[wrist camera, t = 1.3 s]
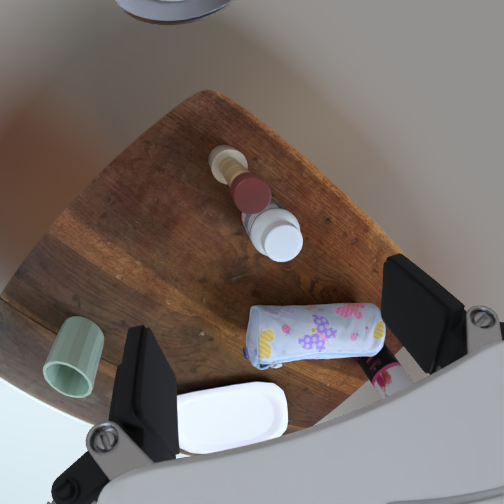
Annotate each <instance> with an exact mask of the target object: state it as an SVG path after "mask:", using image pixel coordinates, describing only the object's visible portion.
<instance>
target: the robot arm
mask: <svg viewBox="0 0 504 504" xmlns="http://www.w3.org/2000/svg"><path fill="white" fill-rule="evenodd" d="M159 1H169V2H171V1H183V0H159ZM464 307H465V306H464V305H463V304H462V303H461V302H460V301H459V300H458V299H457V298H455V297H454V296H453V295H452V294H450V293H449V292H448V291H447V290H446V289H445V288H444V287H442V286H441V285H440V284H439V283H437V282H436V281H435V280H434V279H432V277H430V276H429V275H428V274H427V273H425V272H424V271H423V270H422V269H420V268H419V267H418V266H416V265H415V264H414V263H413V262H411V261H410V260H409V259H408V258H406V257H405V256H404V255H402V254H401V253H399V254H396V255H393V256H390V257H388V258H387V260H386V262H384V267H383V288H382V303H381V318H382V320H383V322H384V323H385V324H386V325H387V326H388V328H389V329H390V330H391V331H392V332H393V334H394V335H395V336H396V337H397V339H398V340H399V341H400V342H401V343H402V345H403V346H404V347H405V348H406V350H407V351H408V352H409V353H410V354H411V356H412V357H413V358H414V359H415V361H416V362H417V363H418V364H419V366H420V367H421V368H422V370H423V371H424V372H425V373H429V374H430V376H428V377H426V378H424V379H422V380H420V381H418V382H416V383H414V384H413V385H411V386H409V387H407V388H405V389H403V390H400V391H398V392H396V393H394V394H392V395H390V396H388V397H386V398H383V399H381V400H379V401H377V402H374V403H372V404H370V405H368V406H365V407H363V408H361V409H358V410H356V411H353V412H351V413H348V414H346V415H343V416H340V417H338V418H335V419H332V420H330V421H327V422H324V423H321V424H318V425H315V426H312V427H309V428H306V429H303V430H300V431H297V432H294V433H290V434H287V435H284V436H280V437H277V438H273V439H269V440H265V441H262V442H258V443H254V444H250V445H245V446H241V447H236V448H232V449H227V450H222V451H217V452H212V453H207V454H202V455H196V456H190V457H184V458H179V459H176V454H179V434H178V412H177V381H176V377H175V374H174V372H173V370H172V369H171V367H170V365H169V363H168V361H167V360H166V358H165V356H164V354H163V352H162V350H161V348H160V346H159V345H158V343H157V341H156V339H155V337H154V335H153V333H152V331H151V329H150V328H145V326H144V325H141V326H136V327H132V328H129V330H128V334H127V338H126V343H125V348H124V354H123V359H122V364H120V365H119V366H118V367H117V371H116V377H115V382H114V388H113V394H112V401H111V407H110V414H109V421H104V422H100V423H98V424H96V425H95V426H93V427H92V428H91V429H90V431H89V432H88V434H87V437H86V447H87V449H88V451H87V452H86V453H85V454H84V455H82V456H81V457H80V458H79V459H78V460H77V461H76V462H75V463H73V464H72V465H71V466H70V467H69V468H68V469H67V470H66V471H64V472H63V473H62V474H61V475H60V476H59V477H58V478H57V479H56V480H55V481H54V483H53V485H52V490H51V493H52V497H53V501H52V503H50V502H48V503H47V504H504V322H499V318H498V316H497V314H496V313H495V312H494V311H493V310H492V309H490V308H488V307H486V306H474V307H471V308H470V309H469V310H468V311H467V312H466V311H465V310H464Z"/></svg>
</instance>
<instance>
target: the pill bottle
mask: <svg viewBox="0 0 504 504" xmlns="http://www.w3.org/2000/svg"><path fill="white" fill-rule="evenodd" d="M242 222H243V224H244V227H245V229H246V231H247V233H248V235H249V237H250V239H251V241H252V243H253V245H254V246H255V248H256V249H257V250H258V251H259V252H260V253H262V254H264V255H266V256H268V257H270V258H271V259H272V260H274V261H278V262H285V261H289V260H291V259H293V258H294V257H295V256H297V254H298V253H299V252H300V250H301V248H302V244H303V238H302V235H301V233H300V227H299V223H298V221H297V219H296V218H295V217H294V215H293V214H292V213H290V212H289V211H288V210H287V209H286V208H285V207H284V206H283V205H282V204H281V203H280V202H279V201H278V200H277V199H275V198H274V197H271V201H270V203H269V205H268V207H267V208H266V209H265V210H263V211H262V212H260V213H257V214H246V213H243V212H242Z"/></svg>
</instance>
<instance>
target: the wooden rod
mask: <svg viewBox="0 0 504 504" xmlns="http://www.w3.org/2000/svg"><path fill="white" fill-rule="evenodd" d="M208 161H209V165H210V168H211V171H212V173H213V175H214V177H215V178H216V179H217V180H218V181H219V182H221V183H223V184H228V186H229V188H230V194H231V197H232V199H233V201H234V203H235V205H236V207H237V208H238V209H239V210H240V211H242V212H243V213H246V214H257V213H260V212H262V211H263V210H265V209H266V208H267V207H268V205H269V203H270V201H271V197H272V193H271V189H270V186H269V185H268V183H267V182H266V181H265V180H263V179H262V178H261V177H260V176H259V175H257V174H255V173H252V172H250V171H249V170H248V169H247V168H248V165H247V160H246V158H245V157H244V155H243V154H242V153H240V152H239V151H237V150H236V149H234V148H233V147H231V146H229V145H219V146H217V147H215V148H214V149H213V150H212V151H211V153H210V155H209V159H208Z"/></svg>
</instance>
